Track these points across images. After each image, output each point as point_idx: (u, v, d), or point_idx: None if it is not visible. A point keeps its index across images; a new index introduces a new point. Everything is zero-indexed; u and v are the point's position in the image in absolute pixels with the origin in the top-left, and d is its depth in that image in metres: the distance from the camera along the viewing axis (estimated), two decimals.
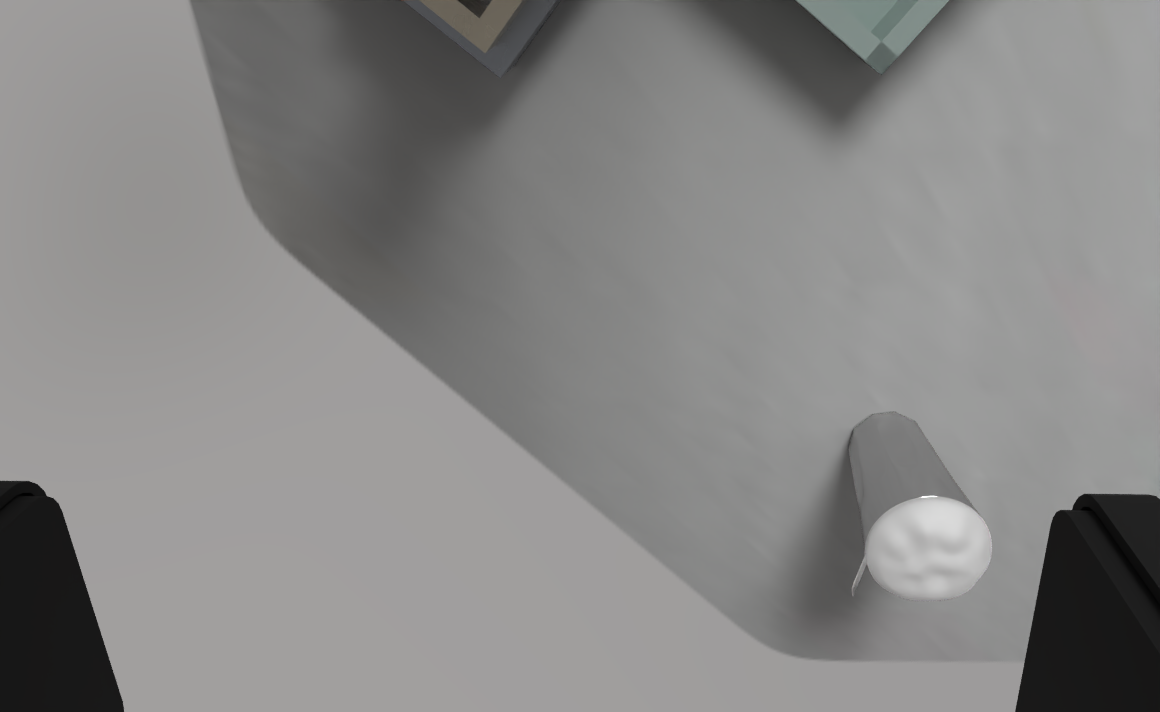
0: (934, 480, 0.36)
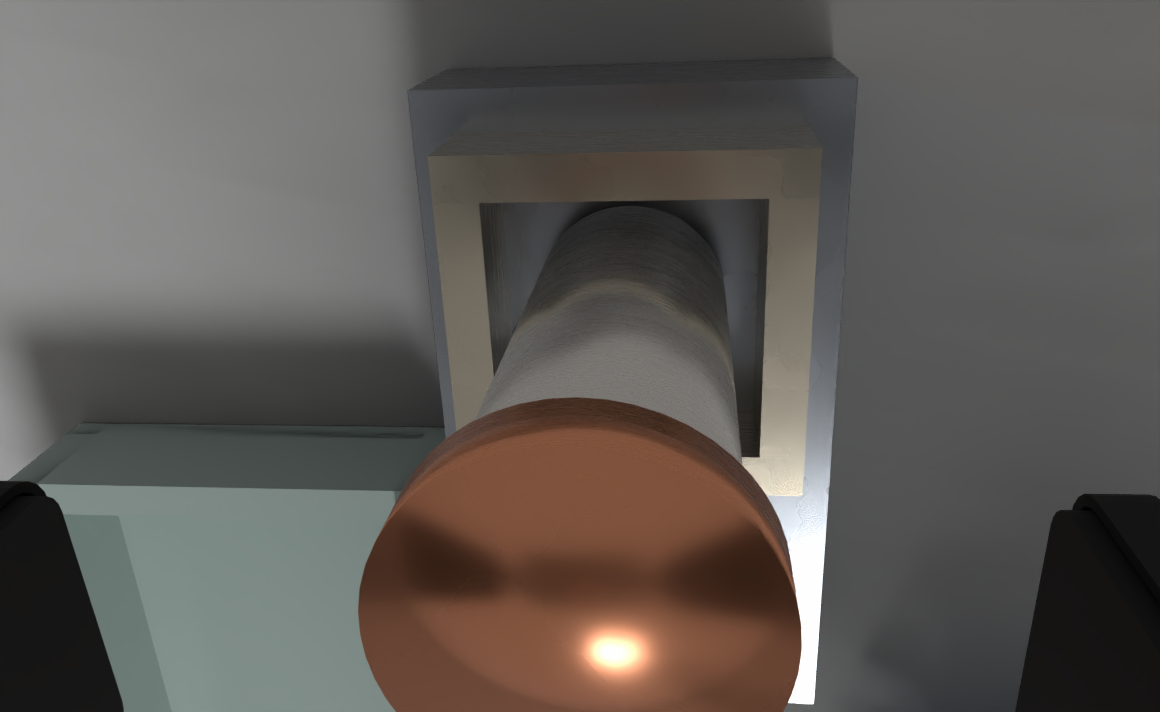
0: None
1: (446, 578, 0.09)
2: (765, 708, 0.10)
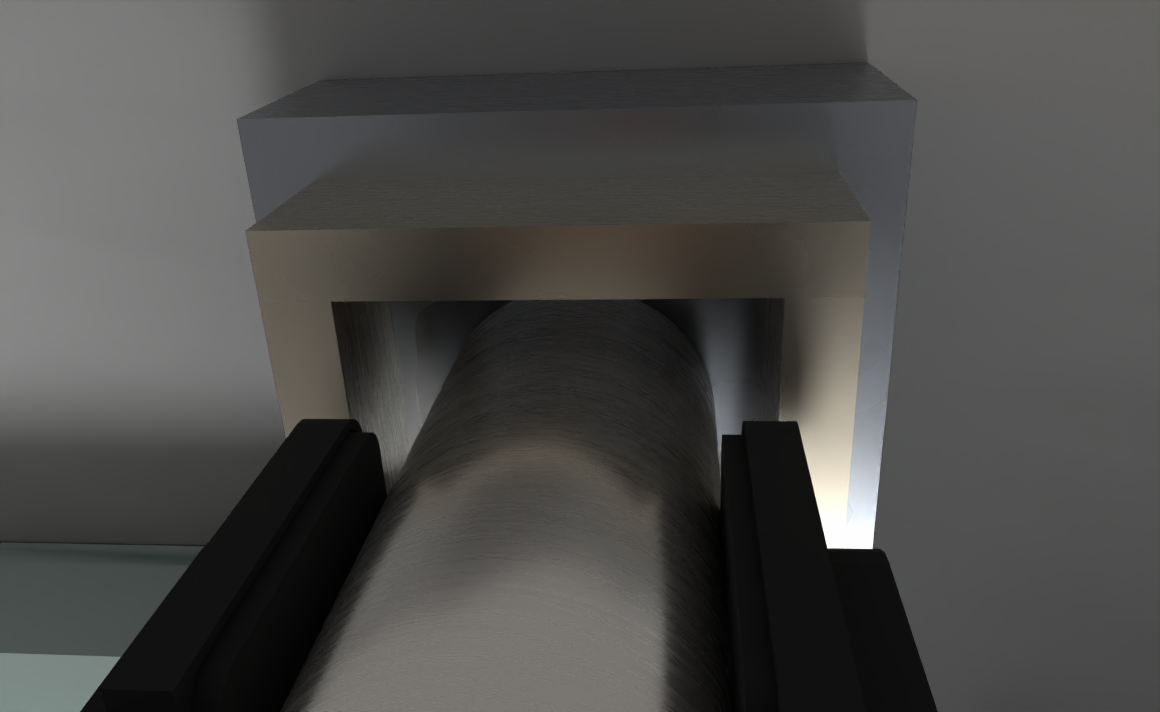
0: None
1: None
2: None
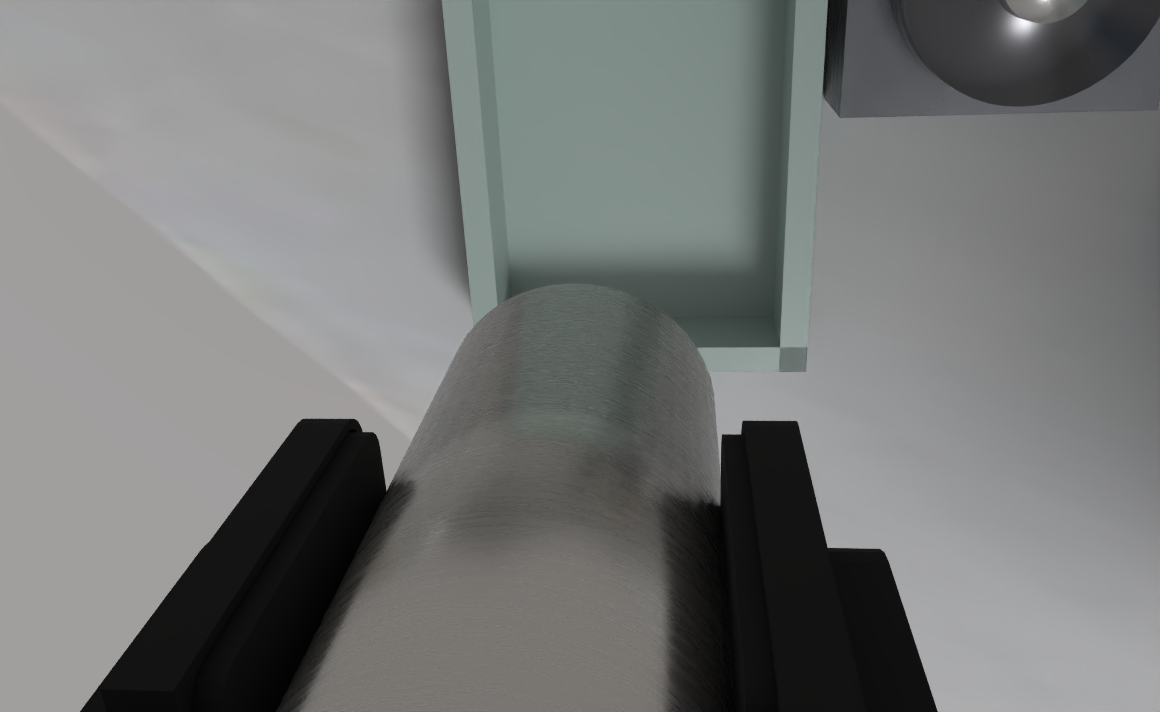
0: None
1: None
2: None
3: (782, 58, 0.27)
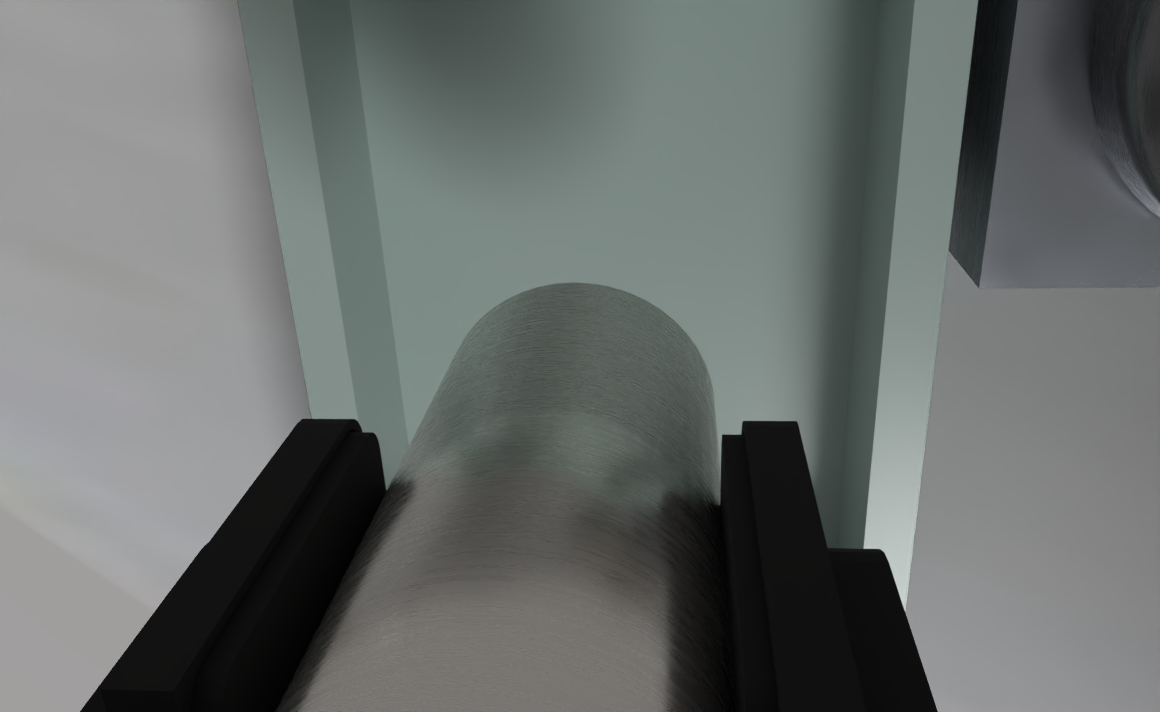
0: None
1: None
2: None
3: (864, 166, 0.16)
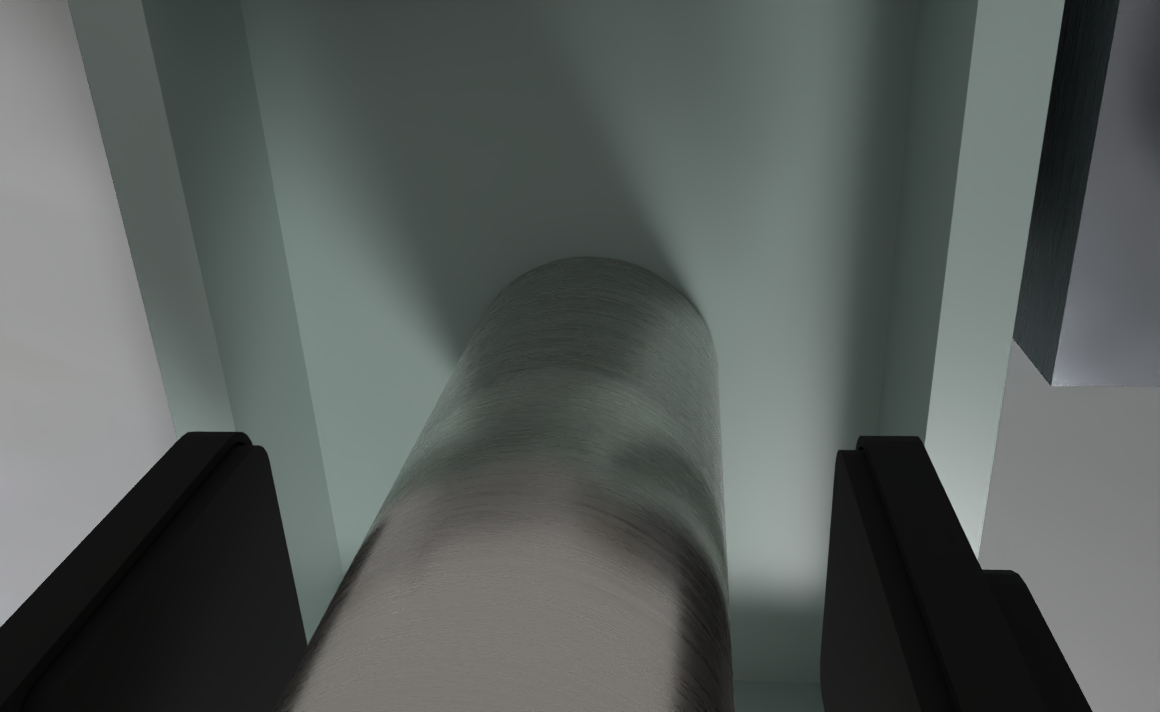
0: None
1: None
2: None
3: (895, 218, 0.13)
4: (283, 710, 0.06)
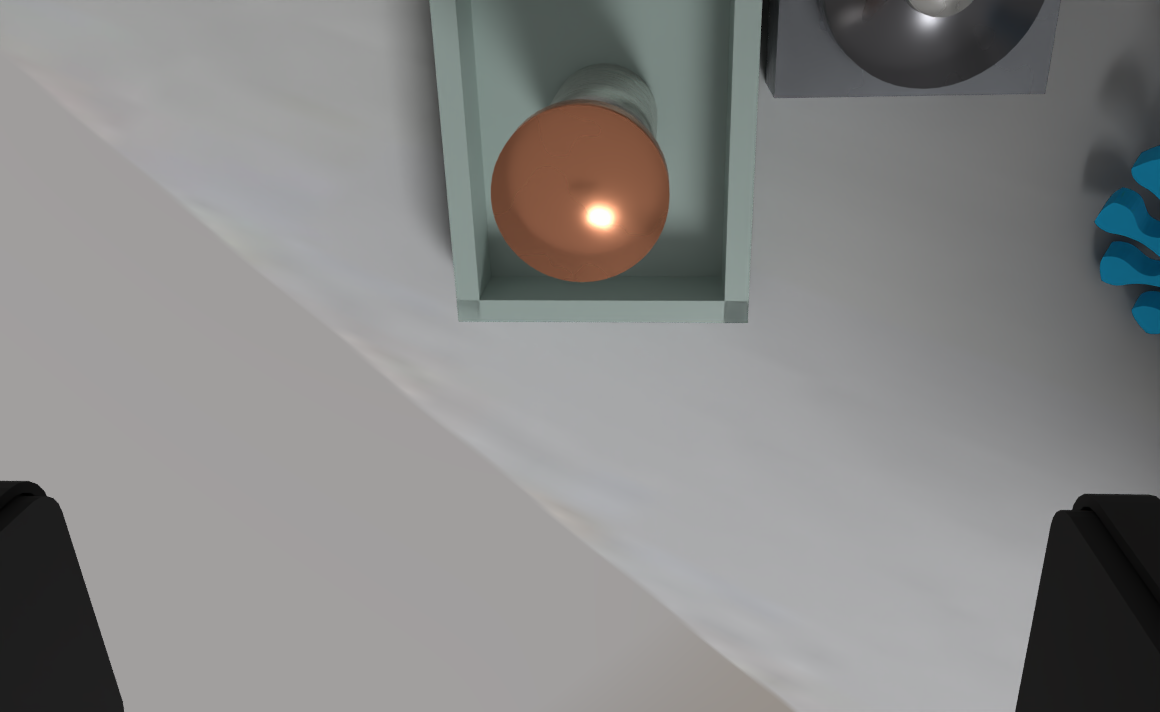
0: None
1: (527, 169, 0.23)
2: (656, 227, 0.24)
3: (727, 46, 0.31)
4: None
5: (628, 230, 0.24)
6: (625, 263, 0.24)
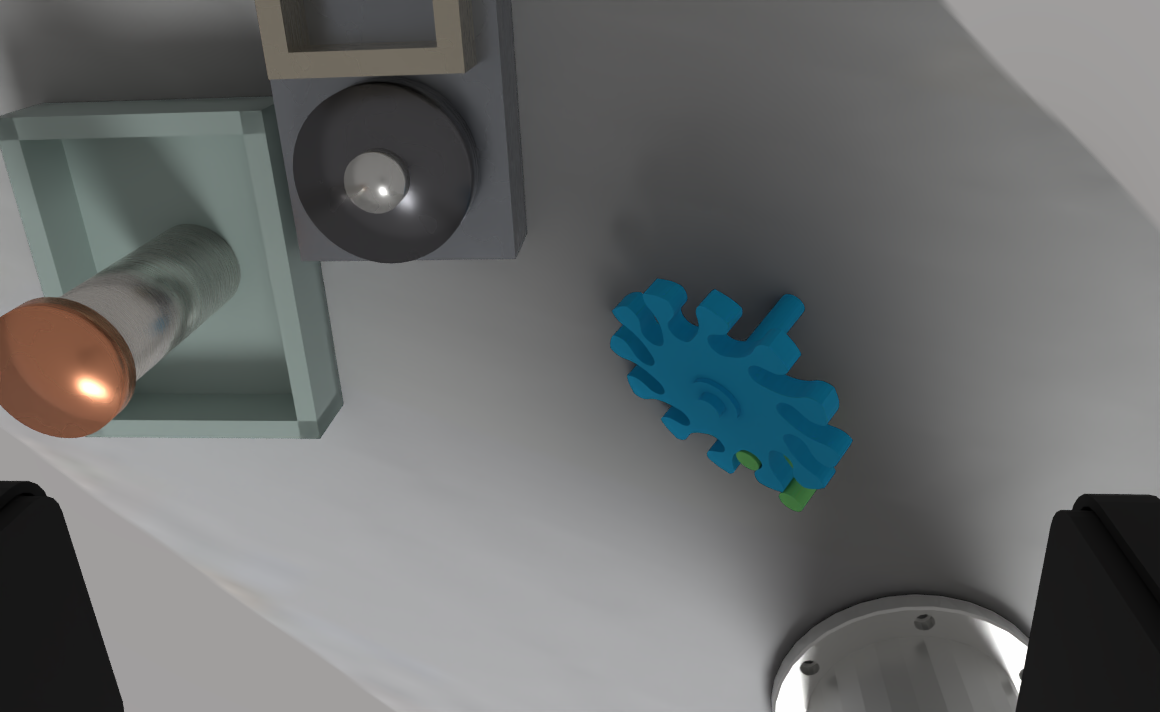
0: None
1: (5, 354, 0.29)
2: (114, 397, 0.30)
3: None
4: None
5: (93, 399, 0.30)
6: (98, 424, 0.30)
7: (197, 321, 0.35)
